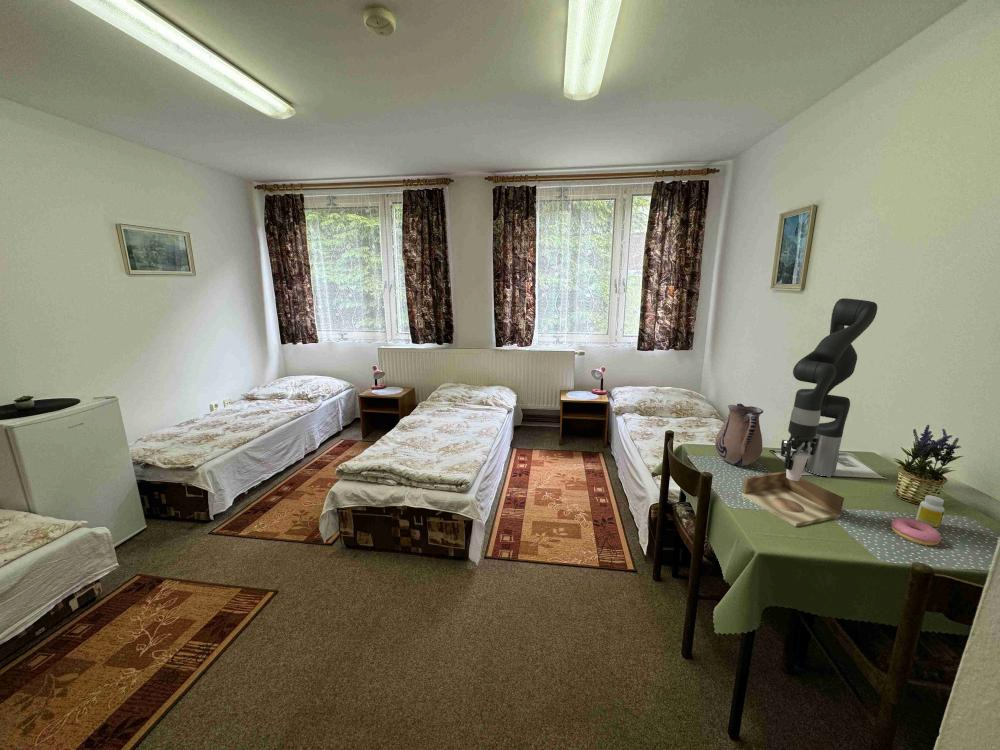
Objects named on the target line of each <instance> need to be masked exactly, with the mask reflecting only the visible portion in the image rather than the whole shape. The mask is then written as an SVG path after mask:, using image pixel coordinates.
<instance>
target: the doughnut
mask: <svg viewBox="0 0 1000 750" xmlns="http://www.w3.org/2000/svg"><path fill="white" fill-rule="evenodd" d="M890 527H891V529H892V531H893V532H894V533H895V534H896V535H897V536H899V537H901V538H903V539H905V540H908V541H909V542H912V543H914V544H917V545H918V544H919V545H924V546H936V545H938V544H939V543H940V542H941V541H942V535H941V533H940V532H939V530H937V529H934V528H933V527H931V526H930V525H928V524H925V523H923V522H920V521H917V520H916V519H912V518H907V517H896V518H894V519H893V520H891V522H890Z"/></svg>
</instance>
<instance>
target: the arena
mask: <svg viewBox="0 0 1000 750" xmlns="http://www.w3.org/2000/svg"><path fill="white" fill-rule="evenodd" d="M741 496H742V497H744V498H745V499H746V500H748V501H751V502H752V503H754V504H756V505H757V506H759V507H761V508H762V509H764V510H766V511H767V512H769V513H770V514H772V515H775V516H776V517H778V518H780V520H782V521H785V522H786V523H789V524H790V525H791V526H793V527H794V528H796V527H802V526H806V525H811V524H815V523H820V522H825V521H828V520H834V519H838V518H840V517H841V515H842V514H841V512H842V509H843V505H844V504H843V503H844V500H845V497H843V496H841V495H839V494H836V493H834V492H832V491H830V490H827V489H825V488H824V487H821V486H819V485H817V484H814V483H812V482H811V481H808V480H806V479H804V478H802V477H800V480H799V481H793V480H790V479H788V478H786V470H784V471H779V472H777V471H776V472H772V473H765V474H758V475H753V476H746V477H744V479H743V485H742V492H741Z"/></svg>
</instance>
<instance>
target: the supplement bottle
mask: <svg viewBox="0 0 1000 750" xmlns="http://www.w3.org/2000/svg"><path fill="white" fill-rule="evenodd" d="M944 503H945V500H944V499H943V498H941V497H938V496H935V495H925V497H924V500H922V501H920V504H919V507H918V510H917V512H916V517H915V520H917V521H920V522H923V523H925V524H928V525H930V526H931V527H933V528H934V529H937V531H939V529H940V527H941V524H942V521H943V517H944V514H945V507H944V506H943V505H944Z"/></svg>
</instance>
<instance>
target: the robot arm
mask: <svg viewBox="0 0 1000 750" xmlns="http://www.w3.org/2000/svg"><path fill="white" fill-rule="evenodd" d="M877 312H878V304H877V303H876V302H875V301H871V300H864V299H857V298H855V299H854V298H847V297H845V298H843V297H842V298H840V299H838V300H837V301H836V302H835V303H834V307H833V309H832V313H831V319H830V325H829V326H830V328H829V335H827V336H825V337H823V338H822V339H821V340H820V341H819V343H818V344H817V346H816V347H815V348H814V350H813V351H811V352H809V354H807V355H805V356H804V357H802V358H801V359H799V360H798V362H797V363H795V365H794V367H793V370H792V375H793V378H795V380H797V381H799V382H805V383H809V384H815V385H816V386H815V387H814V388H801V389H798V390H797V391H796V392H795V397H794V404H793V407H792V410H791V414H790V419H789V423H788V428H787V429H788V433H789V434H790V436H789V439H788V440H786V439H782V440H781V444H780V445H781V447H780V457H782V458H784V464H783V466H784V468H785V470H786V469H788V470H792V467H793V462H794V458H795V454H796V455H798V454H799V452H800V451H804V452H806V453H809V458H808V459H807V461H806V464H805V467H804V469H805V468H806V469H807V470H808V471H810V472H812V473H815V474H818V475H822V476H827V477H826V478H832V477H831V476H833V475H834V476H835V474H836V470H837V467H838V461H839V457H840V448H841V444H842V439H843V433H844V429H845V424H846V421H847V418H848V415H849V412H850V408H851V400H850V398H849V397H846V396H840V395H833V394H830V392H831V391H832V390H833V389H834V388H835V387H837V386H838V385H840V384H842V383H843V382H844V381H846V380H847V379H849V378H850V377H852V375H853V374H854V372H855V369H856V366H857V365H856V364H857V361H858V354H857V352H856V350H855V348H854V346H853V345H852V344H853V342H854V341H855V340H856V339H858V338H859V336H861V335H862V334H863V333H864V332H865V331H866V330H867V329H868V328H869V327H870V326H871V324H872V323H873V322H874V321H875V318H876V316H877V314H878V313H877ZM821 417H823V418H828V419H834V420H832V421H829V422H828V421H827V422H822V423H821V422H820V419H821ZM791 448H792V449H794V450H796V451H793V450H791ZM791 452H792V453H793V454H792V455H791ZM806 469H805V470H806ZM808 471H807V472H808ZM834 473H835V474H834ZM834 476H833V477H834Z"/></svg>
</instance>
